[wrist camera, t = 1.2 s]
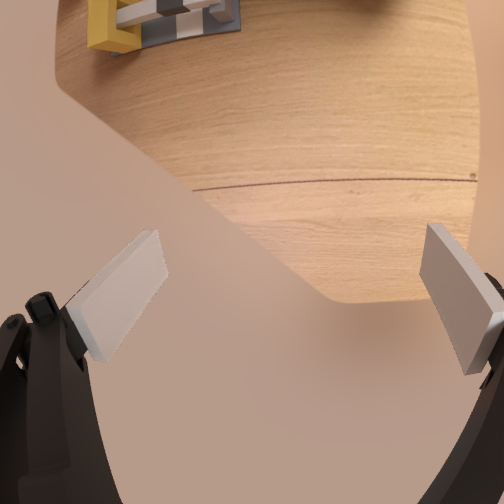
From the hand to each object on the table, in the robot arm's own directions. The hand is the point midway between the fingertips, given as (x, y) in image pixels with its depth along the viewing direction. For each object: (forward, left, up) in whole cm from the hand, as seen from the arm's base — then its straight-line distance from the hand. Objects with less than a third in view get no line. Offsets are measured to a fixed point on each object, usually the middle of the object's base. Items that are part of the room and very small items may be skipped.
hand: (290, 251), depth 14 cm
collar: (-21, -21, -24) cm, 39 cm away
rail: (-21, -16, -26) cm, 37 cm away
